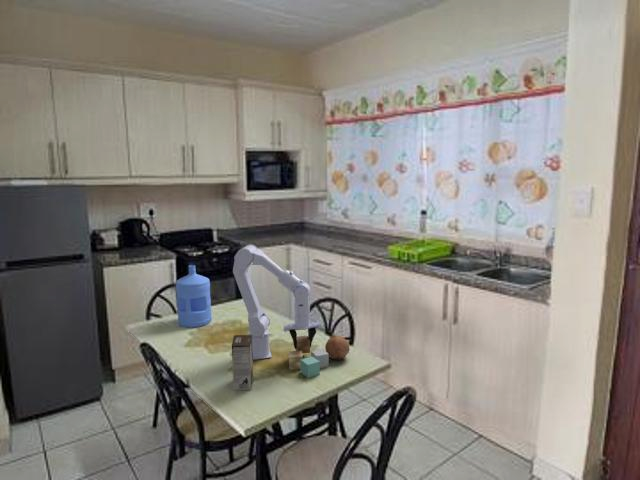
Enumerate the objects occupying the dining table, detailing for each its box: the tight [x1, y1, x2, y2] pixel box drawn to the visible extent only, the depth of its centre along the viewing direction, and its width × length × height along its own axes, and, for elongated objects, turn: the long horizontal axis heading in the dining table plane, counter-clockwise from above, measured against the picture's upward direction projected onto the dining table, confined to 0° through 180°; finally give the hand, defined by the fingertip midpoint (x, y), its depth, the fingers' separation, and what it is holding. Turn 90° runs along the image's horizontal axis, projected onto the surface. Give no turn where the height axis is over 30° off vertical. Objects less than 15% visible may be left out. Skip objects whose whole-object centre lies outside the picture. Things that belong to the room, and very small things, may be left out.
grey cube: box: [310, 348, 330, 369], centre depth 165 cm, size 5×5×5 cm
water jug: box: [175, 264, 212, 328], centre depth 209 cm, size 16×16×28 cm
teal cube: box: [300, 356, 321, 379], centre depth 159 cm, size 5×5×5 cm
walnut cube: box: [294, 335, 311, 354], centre depth 172 cm, size 5×5×5 cm
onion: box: [324, 334, 350, 361], centre depth 171 cm, size 10×9×10 cm
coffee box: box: [231, 334, 254, 391], centre depth 150 cm, size 9×6×16 cm
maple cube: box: [288, 350, 304, 370], centre depth 164 cm, size 5×5×5 cm
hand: (302, 347), depth 172 cm, fingers closed on walnut cube, 5 cm apart
